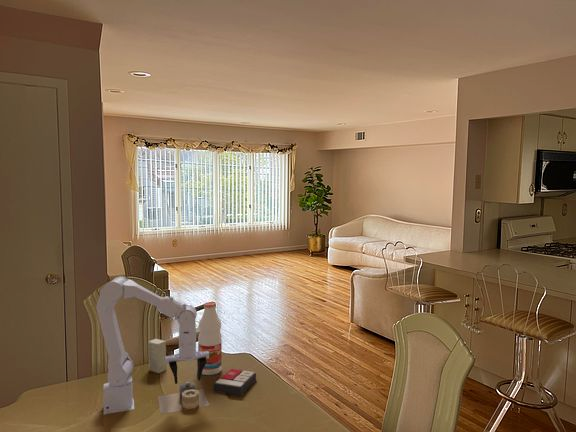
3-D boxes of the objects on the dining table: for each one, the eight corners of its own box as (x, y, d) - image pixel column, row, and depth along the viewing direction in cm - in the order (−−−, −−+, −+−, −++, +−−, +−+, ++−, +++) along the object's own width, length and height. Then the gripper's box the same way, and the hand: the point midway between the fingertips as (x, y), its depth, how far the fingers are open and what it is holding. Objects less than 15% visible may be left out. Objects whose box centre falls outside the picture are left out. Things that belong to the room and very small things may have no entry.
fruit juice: (213, 364, 183) (213, 299, 182) (226, 371, 177) (226, 303, 175) (193, 370, 177) (193, 303, 175) (206, 377, 170) (206, 307, 168)
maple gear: (183, 409, 144) (183, 398, 144) (181, 402, 149) (181, 391, 149) (200, 407, 146) (199, 395, 146) (197, 399, 151) (197, 388, 151)
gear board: (161, 415, 141) (160, 399, 141) (157, 397, 153) (157, 382, 153) (209, 407, 147) (209, 391, 147) (202, 390, 159) (202, 375, 159)
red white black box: (256, 371, 169) (241, 385, 155) (256, 382, 169) (240, 397, 155) (230, 367, 172) (213, 381, 158) (230, 378, 172) (213, 393, 158)
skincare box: (167, 370, 177) (166, 341, 176) (158, 373, 173) (158, 344, 173) (156, 366, 180) (156, 338, 180) (147, 370, 177) (147, 341, 176)
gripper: (166, 348, 141) (166, 389, 142) (210, 343, 146) (210, 382, 147) (164, 341, 148) (164, 380, 149) (207, 336, 153) (206, 374, 154)
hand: (187, 380), depth 148 cm, fingers open, 7 cm apart
